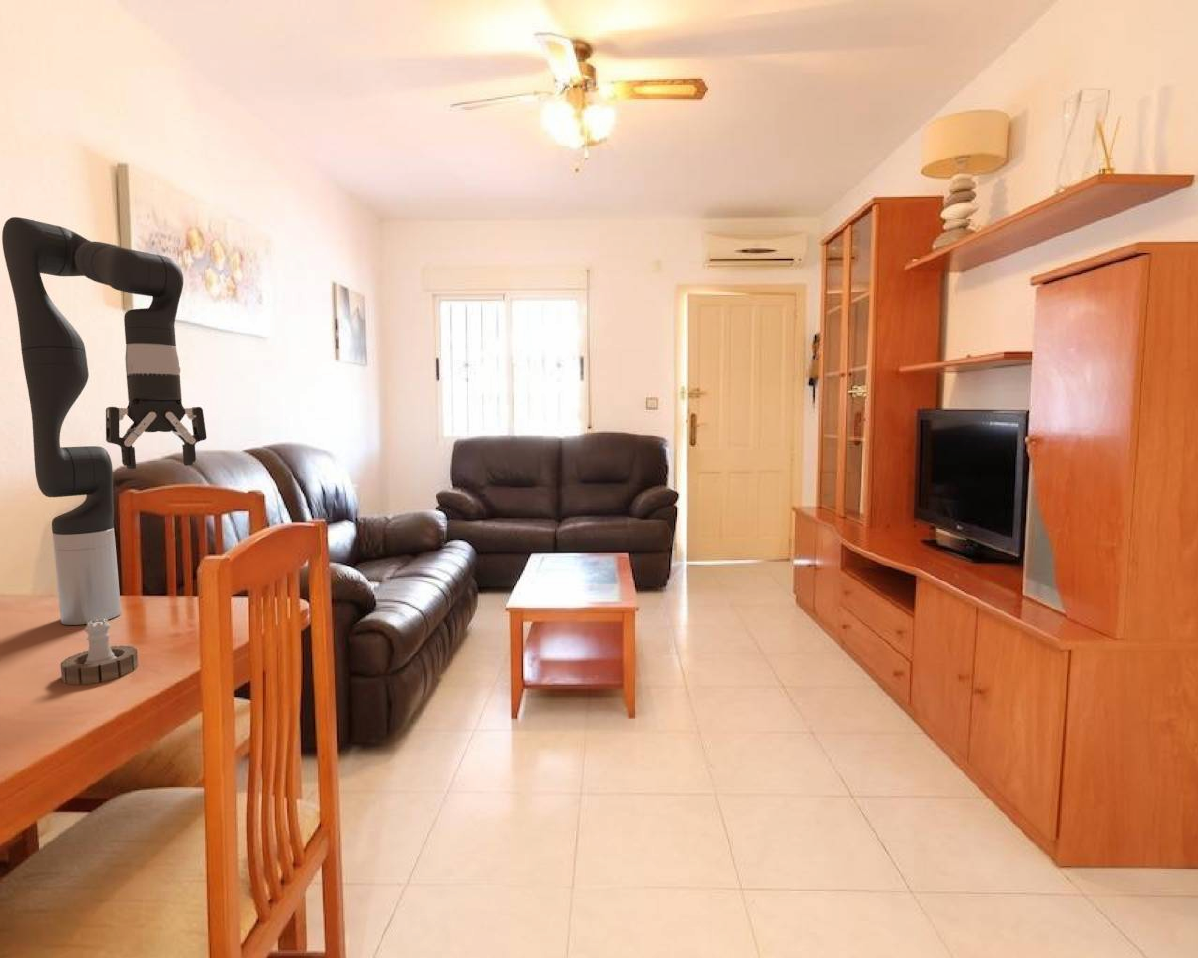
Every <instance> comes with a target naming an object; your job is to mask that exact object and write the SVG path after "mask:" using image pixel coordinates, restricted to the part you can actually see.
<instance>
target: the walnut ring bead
mask: <svg viewBox="0 0 1198 958" xmlns="http://www.w3.org/2000/svg"><path fill="white" fill-rule="evenodd" d="M110 647H111V650H112V652H113V653H114V656H116V657H117V658H115V659H112V660H108V661H104V662H100V663H93V664H84V663H85V662H86V661H87V660H86V658H87V657H88V653H89V650H85V651H83V652H79V653H76V654H74V655H70V656H69V657H67V658H65V659H64V660H63V661H61V662H60V672H61V673H60V674H61V681H62V682H63V683H64V684H67V685H75V686H80V685H82V686H83V685H91V684H97V683H100V682H101V683H103V682H107V681H110V680H115V679H117V678H119V677H124V676H125V675H128V674H130V673H132V672H134V671H136V669H137V668H138V666H139V658H138V649H137V648H136V647H134V646H131V645H113V646H111V645H110Z"/></svg>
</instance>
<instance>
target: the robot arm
mask: <svg viewBox="0 0 1198 958" xmlns="http://www.w3.org/2000/svg"><path fill="white" fill-rule="evenodd" d="M1 236H2V237H1V240H2V241H1V243H2V251H3V256H4V260H5V265H6V268H7V273H8V277H9V280H10V285H11V288H12V292H13V298H14V302H15V303H14V304H15V307H16V314H17V319H18V321H17V322H18V328H19V338H20V349H21V350H20V351H21V357H22V364H23V370H24V376H25V382H26V386H27V391H28V399H29V402H30V403H29V404H30V411H31V412H30V413H31V420H32V436H33V439H32V441H33V455H34V456H33V457H34V459H33V460H34V469H35V471H34V472H35V478H36V482H37V485H38V488H39V490H40V492H41V494H43V495H44V496H45V497H48V498H63V497H73V496H75V497H76V496H86V498H85V500H84V501H83V502H82V503H81V504H80V505H78V506H76V507H75V508H73V509H72V510H70V511H67V512H65V513H62V514H60V515H57V516H55V517H54V518H53V519H52V520H51V530H52V541H53V542H52V543H53V544H52V545H53V549H54V550H53V551H54V563H55V574H56V575H55V576H56V582H57V585H56V586H57V594H58V596H57V597H58V606H59V607H58V608H59V614H60V615H59V616H60V623H61V624H63V625H65V626H67V625H68V626H71V625H72V626H73V625H74V626H75V625H76V626H77V625H87V623H88V622H89V621H92V623H94V620H97V619H98V622H101V619H105V620H106V619H107V620H108V621H109V620H111V619H113V618H116V617H118V616H120V615H121V614H122V606H121V605H122V604H121V595H120V594H121V593H120V581H119V569H118V558H117V557H118V556H117V548H116V545H117V544H116V536H115V533H116V532H115V523H114V519H115V518H114V517H115V515H114V514H115V505H114V473H113V472H114V469H113V463H112V462H113V461H112V458H111V456H110V453H109V452H108V451H107V450H106V449H105V448H104V447H102V446H99V445H98V446H97V445H96V446H93V445H92V446H90V445H89V446H85V445H84V446H63V447H61V443H60V442H61V441H60V440H61V430H62V426H63V424H64V421H65V419H66V417H67V414H68V413H69V411H70V410H71V408H72V407H73V405H74V404H75V402H76V401H77V399H78V398H79V397H80V395H81V394H82V392H83V391H84V389H85V388H86V386H87V383H88V380H89V366H88V360H87V359H88V358H87V353H86V352H87V351H86V346H85V342H84V340H83V338H82V337H81V335H80V334H79V333H78V331H77V330H76V328H75V327H74V326H73V325H72V323H70V322H69V320H68V319H67V317H65V316H64V314H63V313H62V312H61V311H60V310H59V308H57V306H56V305H55V303H54V302H53V301H52V300H51V297H50V296H49V294H48V292H47V290H46V288H45V286H44V282H43V279H42V275H41V274H44V275H45V274H46V275H51V276H56V277H85V278H87V279H89V280H90V281H93V282H95V283H99V284H103V285H105V286H109V287H111V288H112V289H114V290H116V291H120V292H124V293H129V294H133V295H140V296H148V297H152V299H151V303H150V304H149V306H148V307H147V308H145V307H144V308H135V309H134V308H133V309H129V310H127V311H126V312H125V314H124V315H123V317H124V319H123V321H124V322H123V324H124V334H125V335H124V337H125V357H124V358H125V359H124V360H125V372H126V385H127V386H126V387H127V396H128V397H127V399H128V406H127V407H117V406H108V407H106V409H105V441H106V442H107V443H109V444H113V445H117V446H119V447H120V450H121V451H120V452H121V463H122V464H123V466H124V467H126V469H127V470H136V469H137V463H136V449H135V447H134V446H133V445H134V443H135V442H136V440H137V439H139V438H140V437H141V436H142V435H143V433H144V432H145V433H157V432H160V433H170V432H172V433H173V434H174V435H175V436H177V437H178V438H179V439H180V440H181V441H182V442H183V443H184V444H182V446H181V447H182V458H183V466H187V467H189V466H193V463H195V462H196V460H197V456H196V455H197V454H196V444H197V443H199V442H202V441H205V440H206V439H207V431H206V422H205V415H204V409H203V408H202V407H200V406H192V407H190V408H185V407H184V406H183V404H182V400H183V399H182V389H181V388H182V387H181V367H180V360H179V357H178V356H179V355H178V352H177V343H176V328H175V322H176V318H177V313H178V307H179V303H180V300H181V296H182V292H183V288H184V274H183V271H182V269H181V267H180V265H179V264H178V263H177V262H176V261H175V260H174V259H173V258H170V257H168V256H166V255H165V256H164V255H161V254H155V253H149V252H145V251H140V250H135V249H130V248H125V247H123V246H120V245H116V244H115V245H114V244H111V243H107V242H106V243H105V242H100V241H91V240H89V239H87V238H86V237H83V236H82V235H80V234H78V233H76V231H72V230H71V229H68V228H65V227H63V226H59V225H55V224H50V223H47V222H41V221H38V220H34V219H29V218H24V217H17V216H14V217H10V218H8V219H7V220H6V221H5V223H4V226H3V227H2V233H1ZM185 415H186V416H187V418H188V420H191V426H192V434H191V433H190V432H189V430H188V429H187V428H186V427H185V425H184V424H182V419H183V418H184V417H185ZM125 416H127V417H128V418H129V419H130V421H132V424H131V425H130V426H129V428H127V430H126V432H125V434H123V435H124V436H122V437H121V436H120V421H123V419H124V417H125Z"/></svg>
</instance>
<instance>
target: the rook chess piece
mask: <svg viewBox="0 0 1198 958" xmlns="http://www.w3.org/2000/svg"><path fill="white" fill-rule="evenodd" d="M111 627H112V624H110V623H109V619H108V620H107V619H106V620H105V619H101V621H100V622H98V619H97V620H94V623H92V621H89V622H88V623H87V624H86V626H85V628H84V629H83V630H84V632H86V633H87V635H88V637H87V638H86V640H87V641H88V651H89V653H88V657H87V658H86V660H87V661H86V662H85V663H84V664H93V663H100V662H104V661H108V660H112V659H115V658H117V657H116V656H114V653H113V652H112V650H111V644H110V637H111V634H110V633H109V630H110V628H111Z"/></svg>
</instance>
